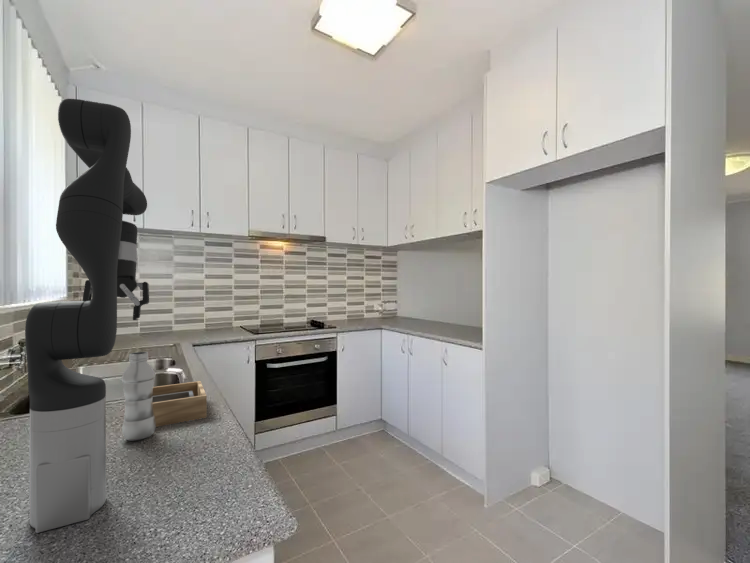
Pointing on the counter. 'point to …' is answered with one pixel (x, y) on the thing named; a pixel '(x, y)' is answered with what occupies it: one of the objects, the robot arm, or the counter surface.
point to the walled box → (179, 403)
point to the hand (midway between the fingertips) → (115, 320)
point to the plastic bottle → (138, 398)
